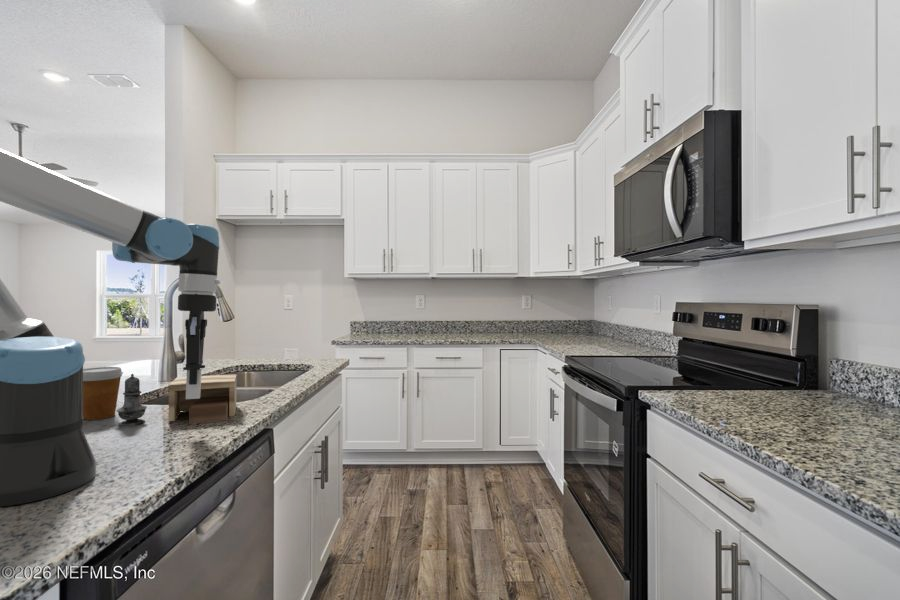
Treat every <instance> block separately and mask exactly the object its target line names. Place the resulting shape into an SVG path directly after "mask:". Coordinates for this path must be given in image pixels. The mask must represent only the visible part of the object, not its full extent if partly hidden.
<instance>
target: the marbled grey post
mask: <svg viewBox="0 0 900 600" xmlns="http://www.w3.org/2000/svg"><path fill="white" fill-rule="evenodd" d="M140 385H141V384H140V379H139V378H138V377H135V374H134V373H132V374H130V377H128V378H126V379H125V381H124V391H123V393H122V395H124V396H123V398H124V401H123V405H122V406H121V407H120V408H118V409H116V412H117V413H118V417H119V418H120V419H121V420H123V421H121V422H120V423H118V425H117V426H118V427H121V426H128V427H135V426H139V425H140V426H141V425H142V424H145V423H146V420H144V419H142V418H143V416H144V415H145V412H146V409H147V408H148V407H147V406H146V405H143V404H142V403H141V399H140V398H141V393H142V391H141V389H140ZM144 422H145V423H144Z"/></svg>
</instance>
